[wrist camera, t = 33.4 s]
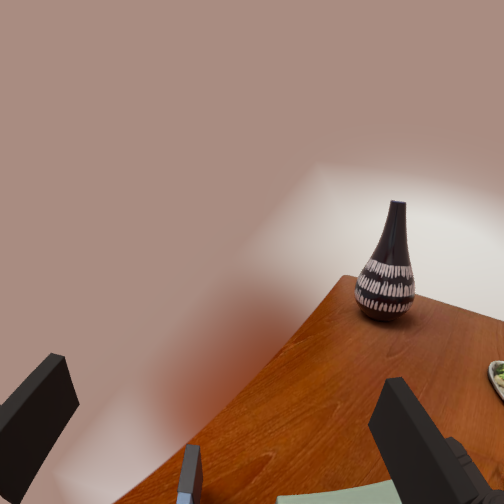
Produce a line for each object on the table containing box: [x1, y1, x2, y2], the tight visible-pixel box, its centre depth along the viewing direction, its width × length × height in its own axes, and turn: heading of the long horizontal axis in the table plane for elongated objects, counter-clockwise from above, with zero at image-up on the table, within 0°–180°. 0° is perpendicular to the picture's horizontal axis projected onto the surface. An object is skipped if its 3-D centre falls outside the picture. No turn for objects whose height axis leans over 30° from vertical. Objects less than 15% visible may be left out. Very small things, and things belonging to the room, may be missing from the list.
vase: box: [355, 200, 415, 322], centre depth 66 cm, size 16×16×30 cm
